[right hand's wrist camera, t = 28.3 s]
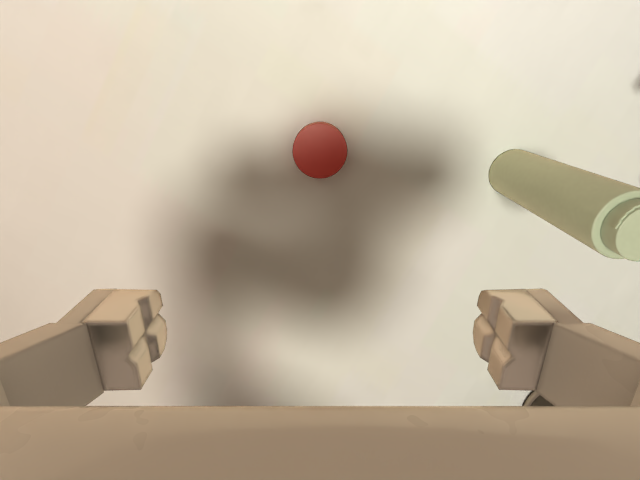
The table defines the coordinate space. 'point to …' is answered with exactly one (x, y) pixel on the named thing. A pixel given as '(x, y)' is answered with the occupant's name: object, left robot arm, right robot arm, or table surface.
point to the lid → (319, 150)
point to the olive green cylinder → (573, 201)
